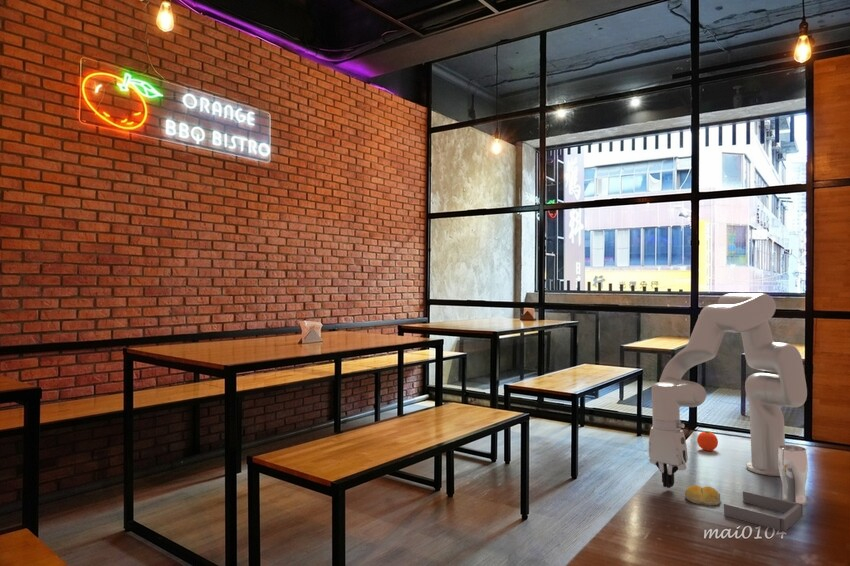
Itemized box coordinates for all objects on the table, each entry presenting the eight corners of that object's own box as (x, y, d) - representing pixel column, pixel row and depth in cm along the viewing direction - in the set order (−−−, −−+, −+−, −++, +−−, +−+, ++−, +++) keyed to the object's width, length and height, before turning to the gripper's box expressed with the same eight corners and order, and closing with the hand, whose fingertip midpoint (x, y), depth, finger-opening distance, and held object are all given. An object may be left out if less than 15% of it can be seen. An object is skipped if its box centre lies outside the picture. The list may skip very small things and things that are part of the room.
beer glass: (814, 507, 150) (812, 451, 150) (785, 505, 151) (783, 451, 151) (802, 497, 156) (800, 444, 157) (775, 496, 158) (773, 444, 158)
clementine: (699, 446, 209) (698, 427, 209) (720, 448, 205) (719, 429, 205) (695, 451, 203) (695, 432, 203) (716, 454, 199) (716, 434, 199)
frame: (744, 501, 155) (744, 490, 155) (802, 515, 144) (802, 504, 144) (724, 515, 146) (723, 503, 146) (784, 531, 135) (784, 519, 135)
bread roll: (687, 493, 163) (686, 479, 163) (721, 498, 158) (720, 484, 158) (682, 502, 156) (682, 488, 156) (718, 508, 151) (718, 494, 151)
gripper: (697, 426, 162) (699, 489, 161) (648, 418, 173) (650, 477, 173) (685, 431, 157) (687, 496, 156) (636, 422, 168) (638, 483, 168)
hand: (668, 486), depth 165 cm, fingers closed
